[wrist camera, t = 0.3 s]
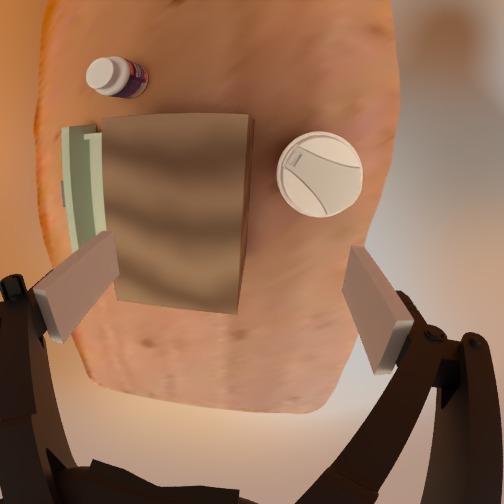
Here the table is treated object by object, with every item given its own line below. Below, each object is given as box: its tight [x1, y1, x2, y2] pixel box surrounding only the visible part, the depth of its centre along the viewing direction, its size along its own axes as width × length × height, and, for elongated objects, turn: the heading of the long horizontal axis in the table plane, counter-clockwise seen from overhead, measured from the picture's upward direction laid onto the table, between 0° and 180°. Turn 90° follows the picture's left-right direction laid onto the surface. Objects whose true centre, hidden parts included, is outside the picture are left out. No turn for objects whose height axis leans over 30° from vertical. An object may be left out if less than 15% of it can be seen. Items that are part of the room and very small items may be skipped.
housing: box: [102, 113, 255, 314], centre depth 34 cm, size 20×14×15 cm
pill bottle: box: [86, 56, 148, 98], centre depth 30 cm, size 5×5×10 cm
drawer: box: [61, 125, 107, 253], centre depth 37 cm, size 20×16×7 cm
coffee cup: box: [277, 131, 363, 217], centre depth 32 cm, size 8×8×15 cm
